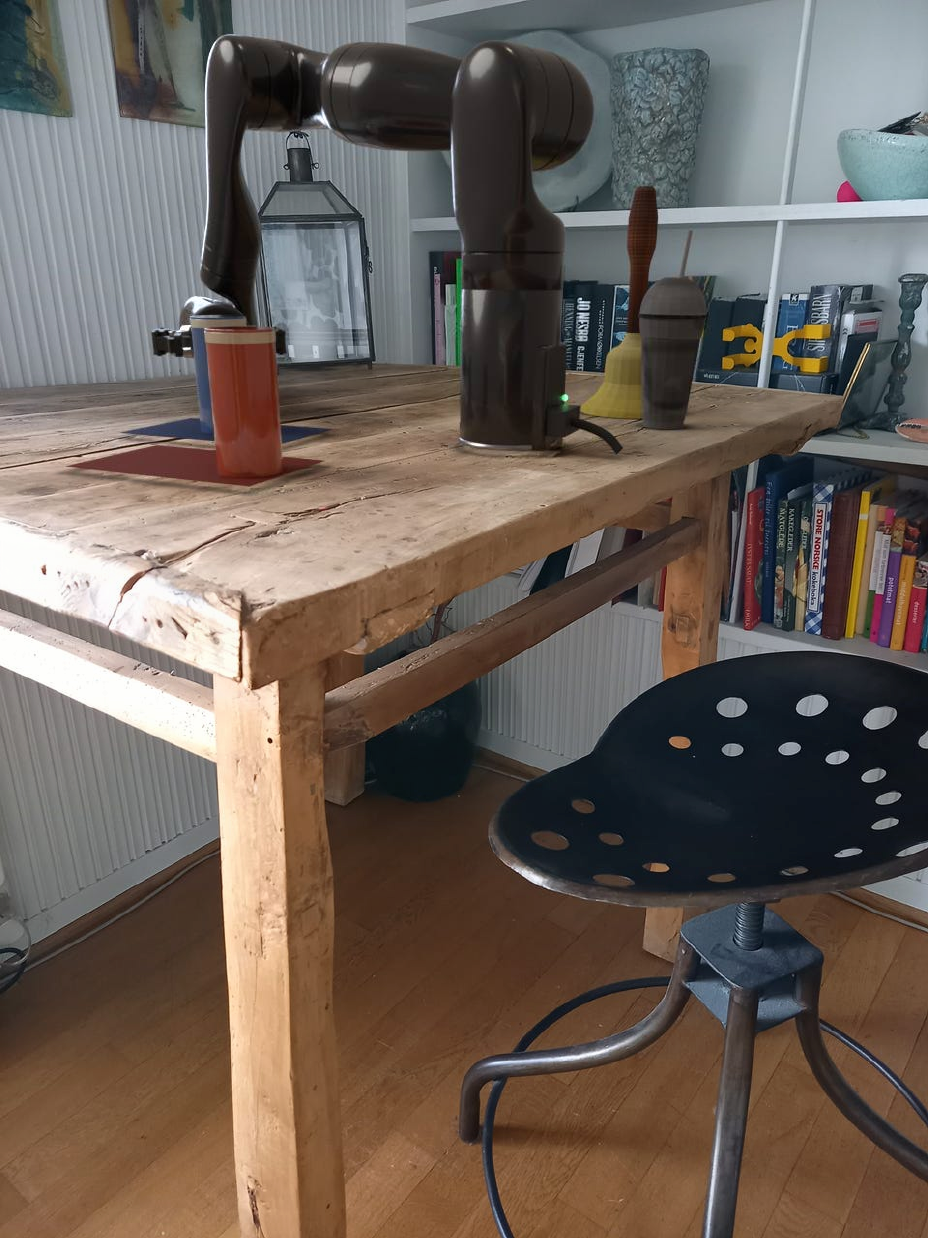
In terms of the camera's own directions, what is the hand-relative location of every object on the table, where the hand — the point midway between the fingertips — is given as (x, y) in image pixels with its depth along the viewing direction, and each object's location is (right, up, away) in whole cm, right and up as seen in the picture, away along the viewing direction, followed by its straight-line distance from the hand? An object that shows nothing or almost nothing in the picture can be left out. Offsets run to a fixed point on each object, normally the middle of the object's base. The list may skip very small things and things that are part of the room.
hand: (220, 345), depth 94 cm
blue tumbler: (+2, -9, -3) cm, 10 cm away
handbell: (+46, -3, +16) cm, 49 cm away
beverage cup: (+48, -7, +6) cm, 49 cm away
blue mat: (+2, -10, -3) cm, 11 cm away
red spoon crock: (+8, -17, -22) cm, 29 cm away
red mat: (+3, -16, -19) cm, 25 cm away
